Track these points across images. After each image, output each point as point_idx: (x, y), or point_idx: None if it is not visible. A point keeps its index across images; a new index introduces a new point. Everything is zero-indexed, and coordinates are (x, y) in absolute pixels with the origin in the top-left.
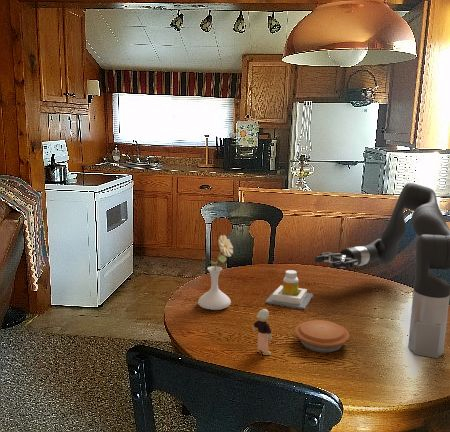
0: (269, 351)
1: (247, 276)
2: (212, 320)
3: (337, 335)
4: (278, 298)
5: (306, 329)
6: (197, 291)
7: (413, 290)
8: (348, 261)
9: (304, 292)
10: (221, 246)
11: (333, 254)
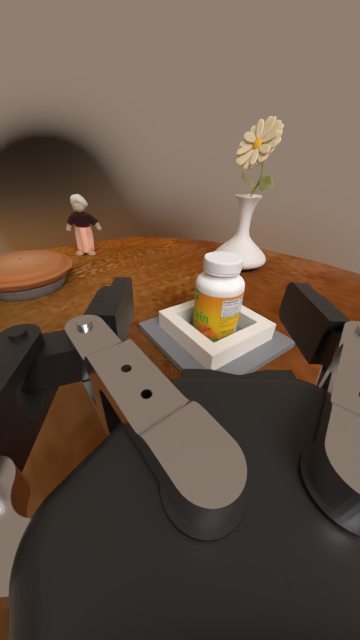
0: (77, 251)
1: None
2: (193, 254)
3: None
4: None
5: (44, 253)
6: (311, 269)
7: None
8: (12, 350)
9: (190, 337)
10: (246, 141)
11: (337, 374)
